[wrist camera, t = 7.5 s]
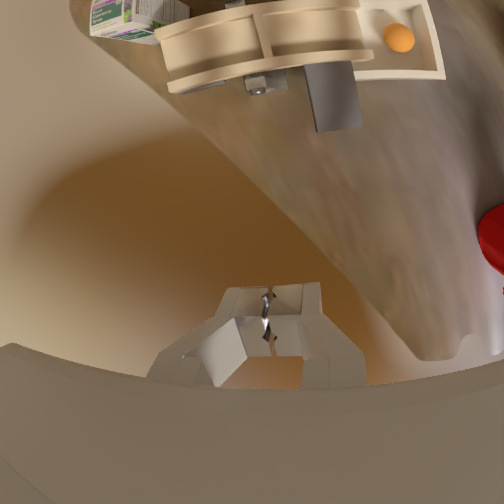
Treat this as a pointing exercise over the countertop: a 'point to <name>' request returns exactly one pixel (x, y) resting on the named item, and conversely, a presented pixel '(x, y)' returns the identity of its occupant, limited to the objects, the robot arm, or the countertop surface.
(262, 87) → the pivot stand
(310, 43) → the lever
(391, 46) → the ball
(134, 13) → the syrup box
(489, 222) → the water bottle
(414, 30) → the white open tray
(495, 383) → the robot arm
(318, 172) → the countertop surface
